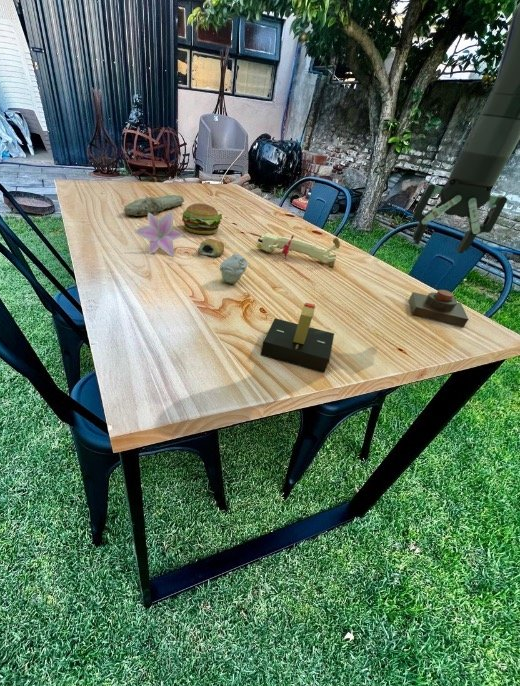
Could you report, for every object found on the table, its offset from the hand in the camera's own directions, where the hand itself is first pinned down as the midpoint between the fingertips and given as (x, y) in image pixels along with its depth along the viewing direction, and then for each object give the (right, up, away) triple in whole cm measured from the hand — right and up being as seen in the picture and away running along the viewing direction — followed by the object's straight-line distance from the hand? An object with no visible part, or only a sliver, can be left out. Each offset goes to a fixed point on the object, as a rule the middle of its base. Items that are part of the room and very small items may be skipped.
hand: (437, 247), depth 71 cm
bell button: (+10, -6, +15) cm, 19 cm away
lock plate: (-30, -22, -4) cm, 37 cm away
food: (-51, +27, +49) cm, 76 cm away
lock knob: (-30, -19, -6) cm, 36 cm away
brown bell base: (+10, -9, +17) cm, 22 cm away
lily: (-62, +12, +29) cm, 70 cm away
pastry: (-47, +13, +33) cm, 59 cm away
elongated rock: (-69, +43, +63) cm, 103 cm away
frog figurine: (-42, -1, +17) cm, 45 cm away
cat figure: (-21, +14, +38) cm, 46 cm away
